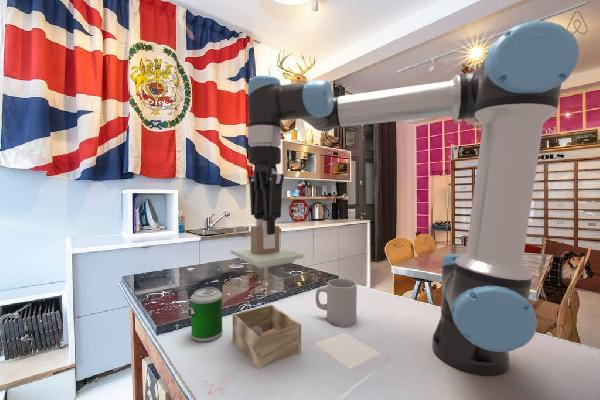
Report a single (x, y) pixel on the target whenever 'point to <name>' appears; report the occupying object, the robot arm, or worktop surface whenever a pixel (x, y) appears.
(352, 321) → the mug
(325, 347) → the pad
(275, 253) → the lid
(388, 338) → the worktop surface
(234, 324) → the crate
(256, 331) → the ball
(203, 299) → the soda can
